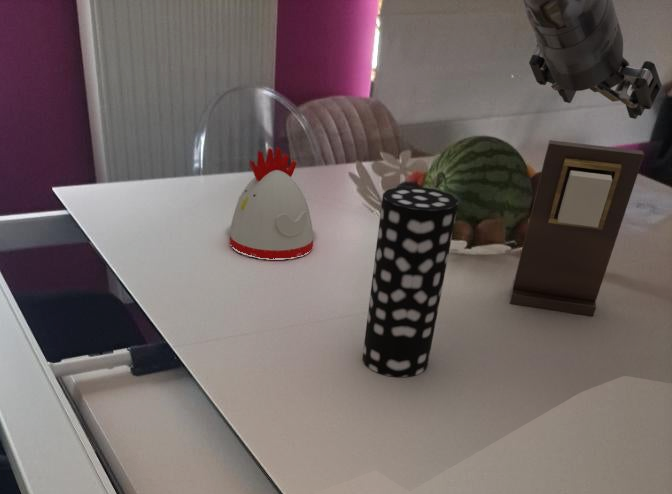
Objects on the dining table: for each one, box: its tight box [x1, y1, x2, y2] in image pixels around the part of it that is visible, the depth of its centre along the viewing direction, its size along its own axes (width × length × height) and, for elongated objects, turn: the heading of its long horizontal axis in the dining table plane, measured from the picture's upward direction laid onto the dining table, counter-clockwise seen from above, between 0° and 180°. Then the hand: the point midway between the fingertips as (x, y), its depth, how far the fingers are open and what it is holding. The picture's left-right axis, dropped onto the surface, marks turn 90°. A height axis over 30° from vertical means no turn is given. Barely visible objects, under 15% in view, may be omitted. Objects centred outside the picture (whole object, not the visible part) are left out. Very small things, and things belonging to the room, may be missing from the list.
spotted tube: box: [362, 186, 459, 378], centre depth 88 cm, size 8×8×20 cm
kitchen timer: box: [229, 146, 314, 259], centre depth 119 cm, size 14×14×15 cm
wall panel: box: [509, 139, 645, 317], centre depth 104 cm, size 6×12×22 cm, turn 74°
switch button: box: [558, 171, 612, 227], centre depth 98 cm, size 2×5×6 cm, turn 74°
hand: (603, 102), depth 91 cm, fingers open, 8 cm apart
